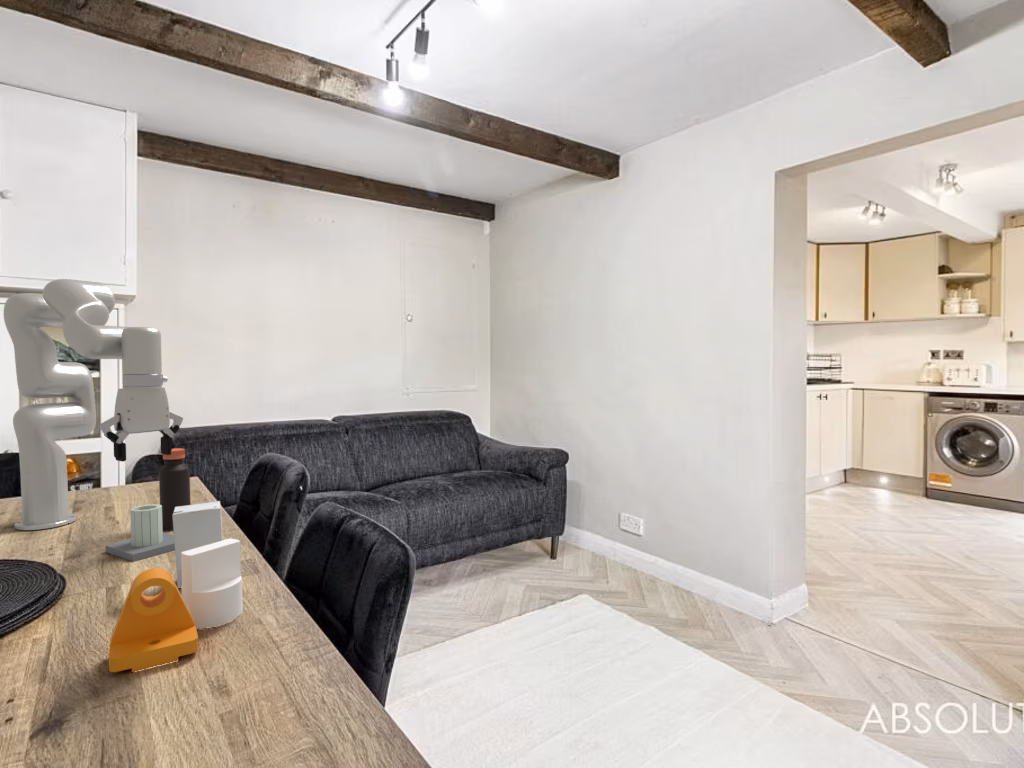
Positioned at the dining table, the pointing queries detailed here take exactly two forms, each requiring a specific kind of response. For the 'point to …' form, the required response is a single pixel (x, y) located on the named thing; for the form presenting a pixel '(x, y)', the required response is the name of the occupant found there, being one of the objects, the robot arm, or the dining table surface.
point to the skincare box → (195, 529)
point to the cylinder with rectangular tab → (212, 582)
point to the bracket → (152, 625)
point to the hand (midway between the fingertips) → (144, 457)
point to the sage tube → (146, 525)
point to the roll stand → (141, 548)
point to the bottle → (173, 485)
